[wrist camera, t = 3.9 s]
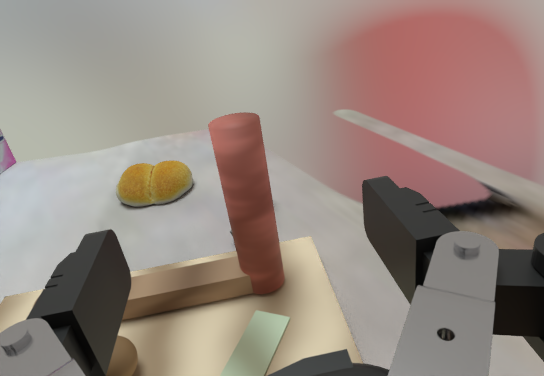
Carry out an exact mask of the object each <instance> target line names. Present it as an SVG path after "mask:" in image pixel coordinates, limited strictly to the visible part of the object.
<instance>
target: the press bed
mask: <svg viewBox="0 0 544 376" xmlns="http://www.w3.org/2000/svg"><path fill="white" fill-rule="evenodd" d="M279 245H280V251H281V257H282V263H283V270H284V276H285V279H284V282H283V284H282V285H281V286H280V287H279V288H278V289H277V290H275V291H273V292H270V293H267V294H255V293H252V294H247V295H242V296H237V297H232V298H227V299H223V300H218V301H213V302H208V303H203V304H198V305H193V306H188V307H184V308H179V309H174V310H169V311H164V312H159V313H154V314H150V315H145V316H140V317H135V318H130V319H125V320H122V322H121V325H120V329H119V332H118V336H117V339H116V343H115V346H114V350H113V353H112V357H111V360H110V364H109V367H108V371H107V374H106V376H267V375H270V374H272V373H274V372H276V371H278V370H280V369H282V368H284V367H286V366H289V365H291V364H293V363H295V362H297V361H299V360H301V359H303V358H308V357H312V356H317V355H321V354H326V353H330V352H335V351H339V350H344V349H347V351H348V353H349V356H350V359H351V361H352V363H362V364H363V362H362V360H361V357H360V355H359V352H358V350H357V347H356V345H355V343H354V340H353V338H352V335H351V333H350V330H349V328H348V325H347V323H346V321H345V318H344V316H343V313H342V311H341V308H340V306H339V304H338V301H337V299H336V296H335V294H334V291H333V289H332V286H331V284H330V282H329V279H328V277H327V274H326V272H325V269H324V267H323V264H322V262H321V260H320V257H319V255H318V252H317V250H316V247H315V245H314V243H313V240H312V238H311V236H309V237H304V238H299V239H294V240H289V241H284V242H279ZM235 256H237V252H236V251H233V252H228V253H223V254H218V255H213V256H208V257H203V258H198V259H193V260H188V261H183V262H178V263H173V264H168V265H163V266H158V267H153V268H148V269H143V270H138V271H133V272H130V274H131V277H135V276H140V275H145V274H150V273H155V272H160V271H165V270H170V269H175V268H180V267H185V266H190V265H195V264H200V263H205V262H210V261H215V260H220V259H225V258H230V257H235ZM42 291H43V289H42V290H37V291H32V292H27V293H22V294H17V295H12V296H7V297H5V298H4V299H3V301H2V302H1V304H0V333H1V332H2V331H4V330H5V329H7V328H8V327H10V326H12V325H14V324H16V323H18V322H21V321H24V320H26V318H27V317H28V315H29V313H30V312H31V310H32V307H33V305H34V303H35V301H36V300H37V298H38V297H39V296H40V294H41V293H42Z"/></svg>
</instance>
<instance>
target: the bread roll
mask: <svg viewBox="0 0 544 376" xmlns="http://www.w3.org/2000/svg"><path fill="white" fill-rule="evenodd" d="M192 184H193V178H192V173H191V171H190V169H189V168H188V167H187V166H186V165H185V164H183V163H182V162H179V161H164V162H160V163H158V164H156V165H155V166H153V165H150V164H145V163H142V164H136V165H133V166H130V167H129V168H128V169H127V170H126V171H125V172H124V173H123V175H122V177H121V179H120V181H119V183H118V184H117V188H116V195H117V198H118V199H119V200H120V201H121V202H122V203H124V204H127V205H130V206H134V207H141V206H148V205H151V204H164V203H169V202H172V201H174V200H175V199H177V198H179V197H180V196H182V195H183V194H184V193H186V192H187V191H188V190H189V189H190V188H191V187H192Z"/></svg>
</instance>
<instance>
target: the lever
mask: <svg viewBox="0 0 544 376" xmlns="http://www.w3.org/2000/svg"><path fill="white" fill-rule="evenodd" d="M208 126H209V131H210V136H211V140H212V144H213V149H214V153H215V158H216V162H217V167H218V171H219V176H220V180H221V185H222V189H223V194H224V198H225V202H226V207H227V211H228V216H229V220H230V225H231V229H232V234H233V238H234V243H235V247H236V252H237V256H235V257H230V258H225V259H220V260H215V261H210V262H205V263H200V264H195V265H190V266H185V267H180V268H175V269H170V270H165V271H160V272H155V273H150V274H145V275H140V276H135V277H131V290H130V293H129V297H128V300H127V304H126V307H125V311H124V315H123V318H122V320H125V319H130V318H135V317H140V316H145V315H150V314H154V313H159V312H164V311H169V310H174V309H179V308H184V307H188V306H193V305H198V304H203V303H208V302H213V301H218V300H223V299H227V298H232V297H237V296H242V295H247V294H252V293H255V294H267V293H270V292H273V291H275V290H277V289H278V288H279V287H280V286H281V285H282V284H283V282H284V279H285V276H284V270H283V263H282V257H281V251H280V245H279V238H278V232H277V226H276V219H275V213H274V207H273V200H272V194H271V188H270V181H269V175H268V169H267V163H266V156H265V150H264V144H263V138H262V131H261V125H260V119H259V116H258V115H257V114H254V113H235V114H229V115H225V116H222V117H219V118H216V119H214V120H213V121H212V122H210V123H209V125H208ZM38 298H39V297H38ZM38 298H37V300H38ZM37 300H36V301H37ZM36 301H35V303H36ZM35 303H34V305H35ZM34 305H33V306H34ZM32 308H33V307H32Z"/></svg>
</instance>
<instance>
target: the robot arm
mask: <svg viewBox="0 0 544 376" xmlns="http://www.w3.org/2000/svg"><path fill="white" fill-rule="evenodd" d="M362 191H363V192H362V193H363V213H364V226H365V231H366V234H367V237H368V239H369V241H370V242H371V244H372V246H373V247H374V249H375V250H376V252H377V253H378V255H379V256H380V258H381V260H382V261H383V263H384V264H385V266H386V267H387V269H388V270H389V272H390V274H391V275H392V277H393V278H394V280H395V281H396V283H397V284H398V286H399V288H400V289H401V291H402V292H403V294H404V295H405V297H406V299H407V300H408V302H409V303H410V305H411V306H410V309H409V312H408V315H407V318H406V321H405V324H404V327H403V330H402V333H401V336H400V339H399V342H398V346H397V349H396V352H395V355H394V358H393V361H392V364H391V367H390V370H388V369H385V368H382V367H378V366H374V365H370V364H362V363H352V361H351V359H350V356H349V353H348V351H347V349H344V350H339V351H335V352H330V353H326V354H321V355H317V356H312V357H308V358H303V359H301V360H299V361H297V362H295V363H293V364H291V365H289V366H286V367H284V368H282V369H280V370H278V371H276V372H274V373H272V374H270V375H267V376H489V367H490V356H491V345H492V334H494V335H511V336H523V337H524V338H525V340H526V341H527V342H528V343H529V344H530V346H531V347H532V348H533V349H534V351H535V352H536V353H537V354H538V355H539V357H540V358H541V359H542V360H543V361H544V233H542V234H540V235H539V236H537V237H536V239H535V242H534V247H533V250H514V249H498V247H497V245H496V244H495V243H494V242H493V241H492V240H490V239H489V238H487V237H485V236H483V235H480V234H477V233H473V232H467V231H459V230H458V229H457V228H456V227H455V226H454V225H453V224H452V223H451V222H450V221H449V220H448V219H447V218H446V217H445V216H444V215H442V214H441V213H440V212H439V211H438V210H436V208H435V207H434V206H433V205H432V204H431V203H430V204H429V202H428V201H427V200H426V198H424V197H423V196H422V195H421V194H420V193H418V192H416V191H413V190H411V189H409V188H406V187H405V188H399V187H398V186H397V185H396V184H395V183H394V182H393V181H392V180H391V179H390V178H389V177H388V176H383V177H379V178H373V179H368V180H364V181H363V184H362ZM130 290H131V274H130V270H129V267H128V264H127V262H126V259H125V257H124V254H123V252H122V249H121V247H120V244H119V242H118V239H117V236H116V234H115V233H114V231H113V230H105V231H100V232H95V233H90V234H86V235H85V236H84V237H83V239H82V241H81V243H80V245H79V247H78V249H77V250H76V252H74V253H70V254H69V255H68V256H67V257H66V258H65V259H64V260H63V261H62V262H60V263H59V264H58V265H57V267H56V269H55V270H54V272H53V274H52V276H51V279H49V281H48V282H47V284H46V286H45V289H43V291H42V293H41V294H40V296H39V298H38V300H37V301H36V303H35V305H34V306H33V308H32V310H31V312H30V313H29V315H28V317H27V318H26V320H24V321H21V322H18V323H16V324H14V325H12V326H10V327H8V328H7V329H5V330H4V331H2V332H1V333H0V376H106V374H107V371H108V367H109V364H110V360H111V357H112V353H113V350H114V346H115V343H116V339H117V336H118V332H119V329H120V325H121V322H122V318H123V315H124V311H125V307H126V304H127V300H128V297H129V293H130Z"/></svg>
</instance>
